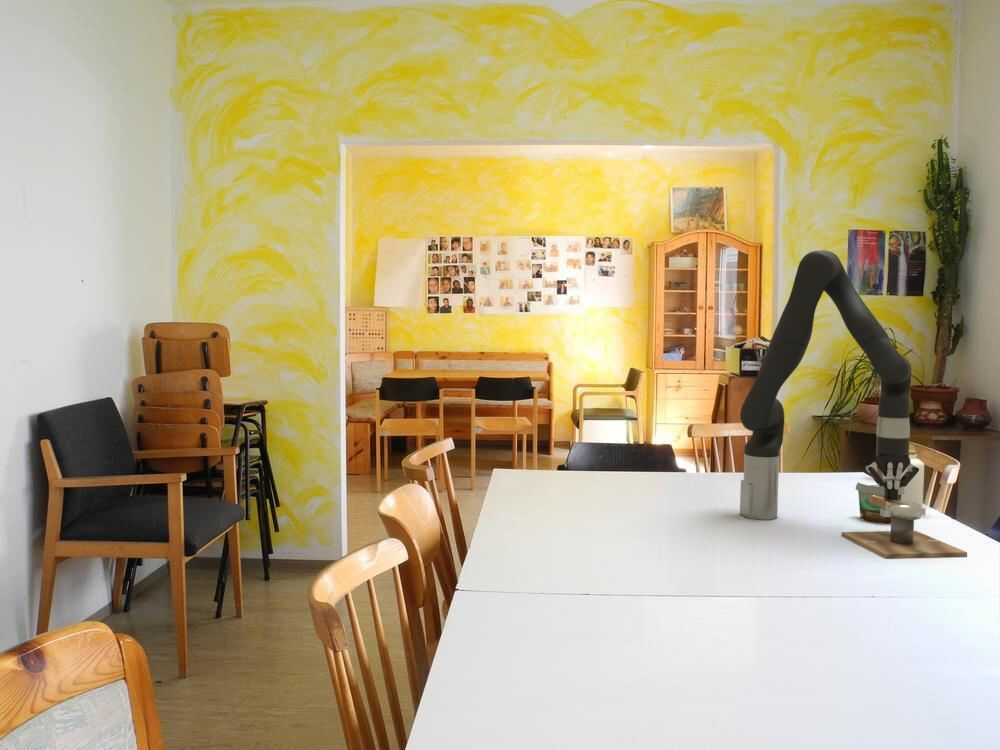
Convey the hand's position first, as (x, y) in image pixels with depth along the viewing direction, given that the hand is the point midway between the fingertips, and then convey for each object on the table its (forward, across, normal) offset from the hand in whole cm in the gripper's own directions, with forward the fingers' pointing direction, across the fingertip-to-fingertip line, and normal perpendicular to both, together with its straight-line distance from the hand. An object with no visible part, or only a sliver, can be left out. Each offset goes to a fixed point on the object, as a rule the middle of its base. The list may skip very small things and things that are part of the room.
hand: (890, 503), depth 212 cm
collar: (+1, -2, -4) cm, 5 cm away
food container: (+9, +3, +16) cm, 19 cm away
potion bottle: (+9, +15, +27) cm, 32 cm away
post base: (+9, -1, -8) cm, 12 cm away
